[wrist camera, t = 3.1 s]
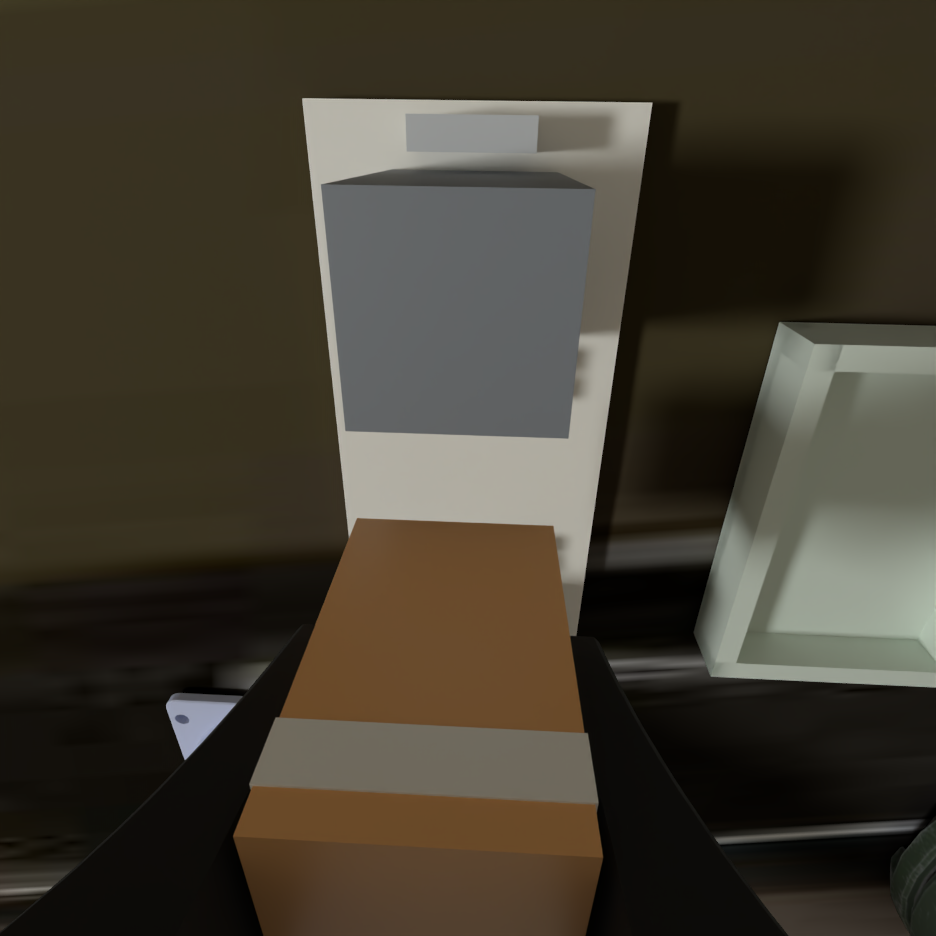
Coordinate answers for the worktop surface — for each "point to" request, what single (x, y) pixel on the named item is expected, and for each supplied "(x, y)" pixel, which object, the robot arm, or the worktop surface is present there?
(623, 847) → the robot arm
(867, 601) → the tray
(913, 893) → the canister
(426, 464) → the panel
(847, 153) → the worktop surface
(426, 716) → the block
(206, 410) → the worktop surface
